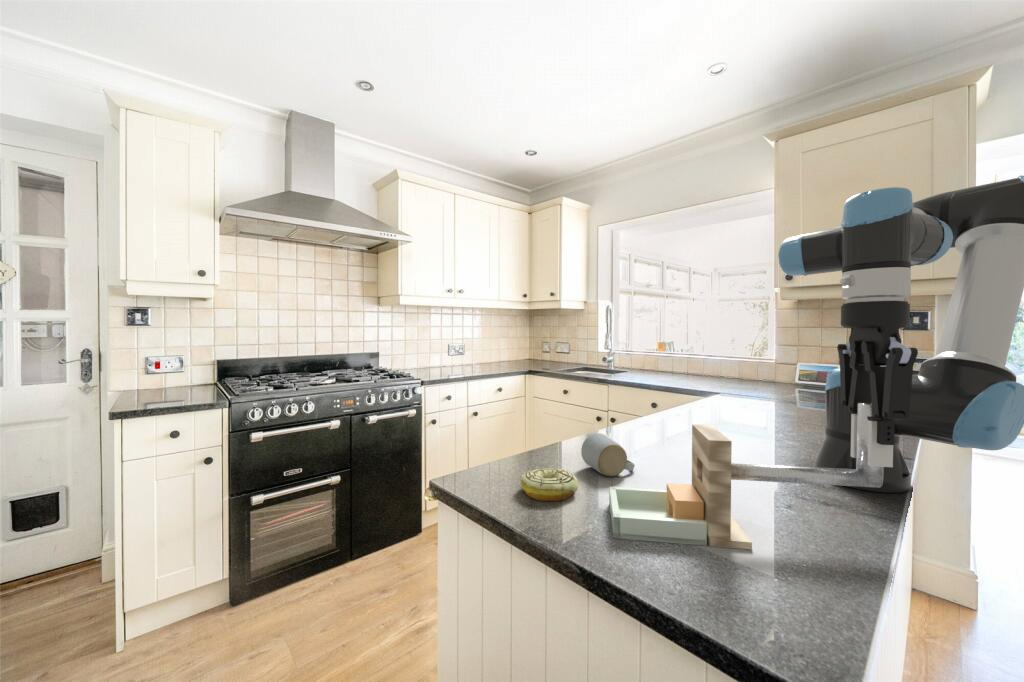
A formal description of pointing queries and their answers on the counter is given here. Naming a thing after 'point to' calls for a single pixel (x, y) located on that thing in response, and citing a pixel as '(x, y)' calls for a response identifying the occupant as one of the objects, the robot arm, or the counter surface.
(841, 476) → the grey l-shaped bar
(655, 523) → the tray
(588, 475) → the counter surface
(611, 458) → the ceramic mug
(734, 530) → the bracket
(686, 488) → the block
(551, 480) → the decorated donut
